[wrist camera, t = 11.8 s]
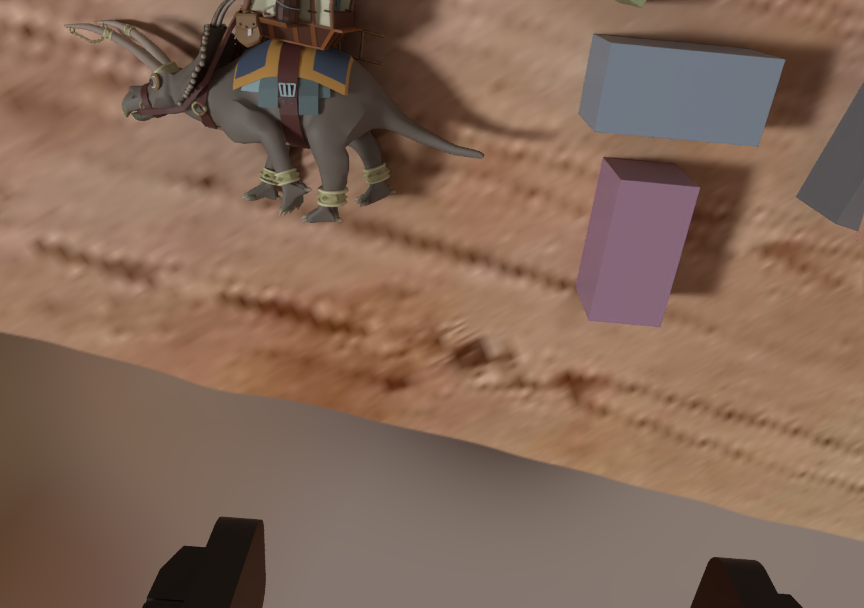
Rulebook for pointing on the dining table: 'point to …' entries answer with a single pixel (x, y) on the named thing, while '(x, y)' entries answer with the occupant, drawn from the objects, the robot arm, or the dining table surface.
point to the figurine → (280, 96)
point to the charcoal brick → (840, 171)
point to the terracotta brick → (861, 233)
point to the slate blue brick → (678, 90)
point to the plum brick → (634, 241)
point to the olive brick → (633, 2)
